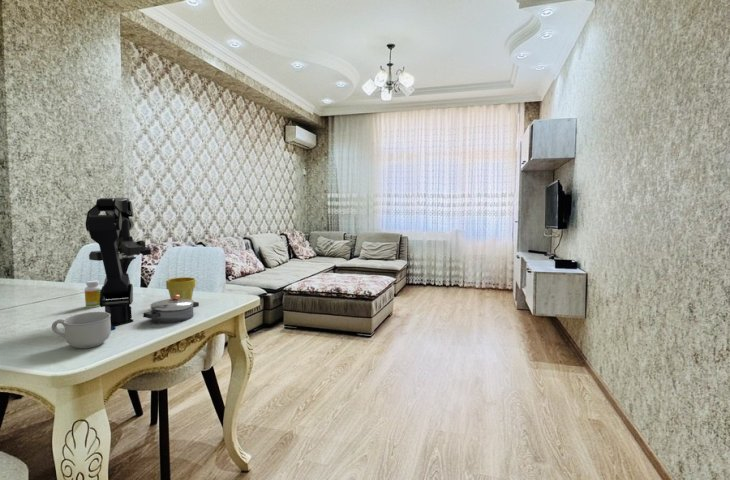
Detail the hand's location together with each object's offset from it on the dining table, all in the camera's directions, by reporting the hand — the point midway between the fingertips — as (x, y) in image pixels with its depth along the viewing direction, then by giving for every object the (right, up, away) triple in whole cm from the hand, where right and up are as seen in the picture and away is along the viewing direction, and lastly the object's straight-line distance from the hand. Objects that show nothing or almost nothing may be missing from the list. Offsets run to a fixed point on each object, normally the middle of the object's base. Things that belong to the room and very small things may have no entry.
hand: (123, 277), depth 140 cm
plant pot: (+15, -12, +14) cm, 23 cm away
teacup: (+8, -16, -31) cm, 36 cm away
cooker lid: (+20, -9, -6) cm, 23 cm away
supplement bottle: (-18, -12, +11) cm, 24 cm away
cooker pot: (+20, -14, -5) cm, 25 cm away
